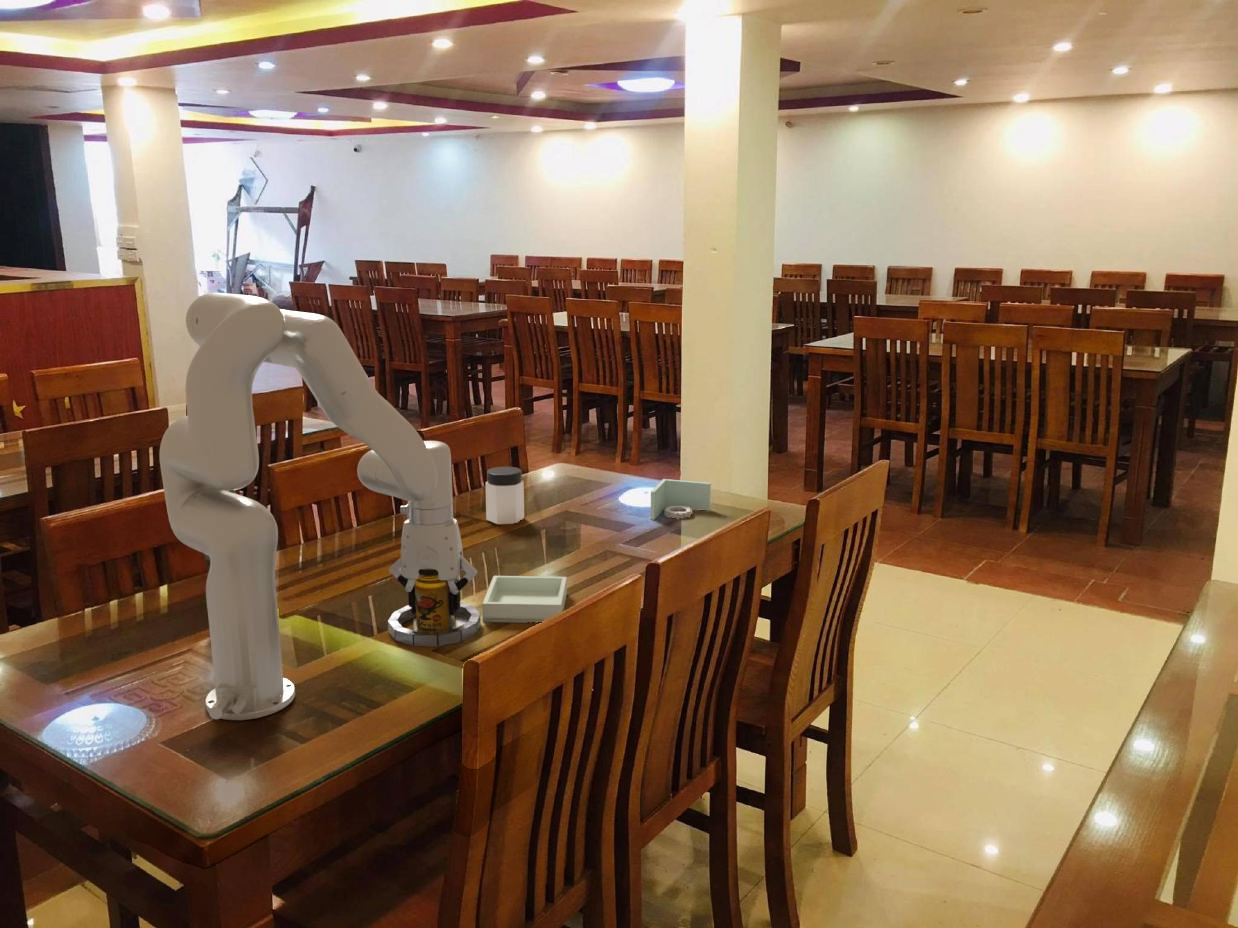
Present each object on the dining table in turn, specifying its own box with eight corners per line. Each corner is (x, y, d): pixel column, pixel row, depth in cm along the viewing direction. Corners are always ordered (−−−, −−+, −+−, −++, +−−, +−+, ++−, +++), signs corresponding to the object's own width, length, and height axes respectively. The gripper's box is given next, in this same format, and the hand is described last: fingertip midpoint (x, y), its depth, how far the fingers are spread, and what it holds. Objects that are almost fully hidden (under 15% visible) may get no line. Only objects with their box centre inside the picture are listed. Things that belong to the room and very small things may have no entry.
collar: (471, 647, 169) (471, 636, 169) (380, 645, 170) (379, 634, 169) (485, 611, 184) (485, 601, 184) (401, 610, 185) (400, 599, 184)
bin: (561, 623, 180) (560, 604, 179) (482, 621, 180) (482, 603, 179) (566, 593, 193) (566, 576, 192) (494, 592, 193) (493, 575, 193)
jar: (498, 512, 244) (497, 464, 242) (528, 516, 242) (528, 467, 239) (481, 522, 236) (479, 473, 233) (512, 526, 234) (511, 476, 231)
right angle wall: (650, 521, 240) (650, 491, 238) (662, 507, 251) (663, 478, 249) (699, 526, 237) (700, 495, 235) (710, 512, 248) (710, 482, 246)
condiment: (414, 639, 172) (411, 573, 169) (413, 619, 180) (410, 556, 177) (457, 635, 174) (455, 570, 171) (454, 616, 182) (452, 553, 179)
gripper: (374, 518, 169) (380, 617, 174) (474, 522, 167) (477, 622, 172) (389, 505, 176) (394, 601, 181) (485, 509, 175) (488, 605, 179)
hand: (434, 610), depth 176 cm, fingers closed on condiment, 6 cm apart
